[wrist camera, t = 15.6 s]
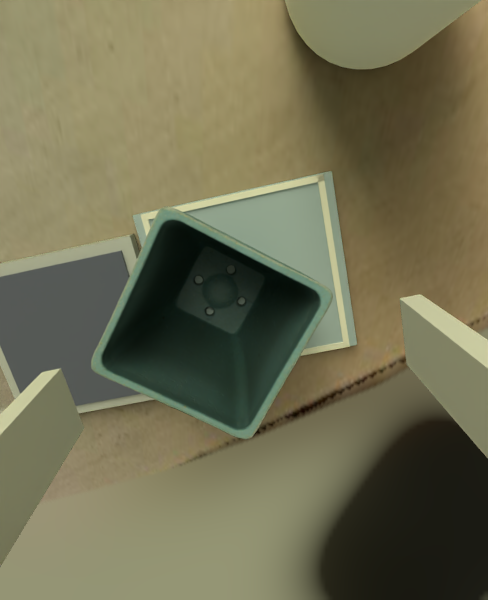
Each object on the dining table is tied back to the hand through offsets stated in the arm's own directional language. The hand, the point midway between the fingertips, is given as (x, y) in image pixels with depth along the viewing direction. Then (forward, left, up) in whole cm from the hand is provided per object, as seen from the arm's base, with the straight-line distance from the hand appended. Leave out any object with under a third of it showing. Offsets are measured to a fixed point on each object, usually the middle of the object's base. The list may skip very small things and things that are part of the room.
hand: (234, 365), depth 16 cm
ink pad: (-13, -1, -14) cm, 18 cm away
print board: (0, 0, -14) cm, 14 cm away
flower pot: (-2, 0, -13) cm, 13 cm away
